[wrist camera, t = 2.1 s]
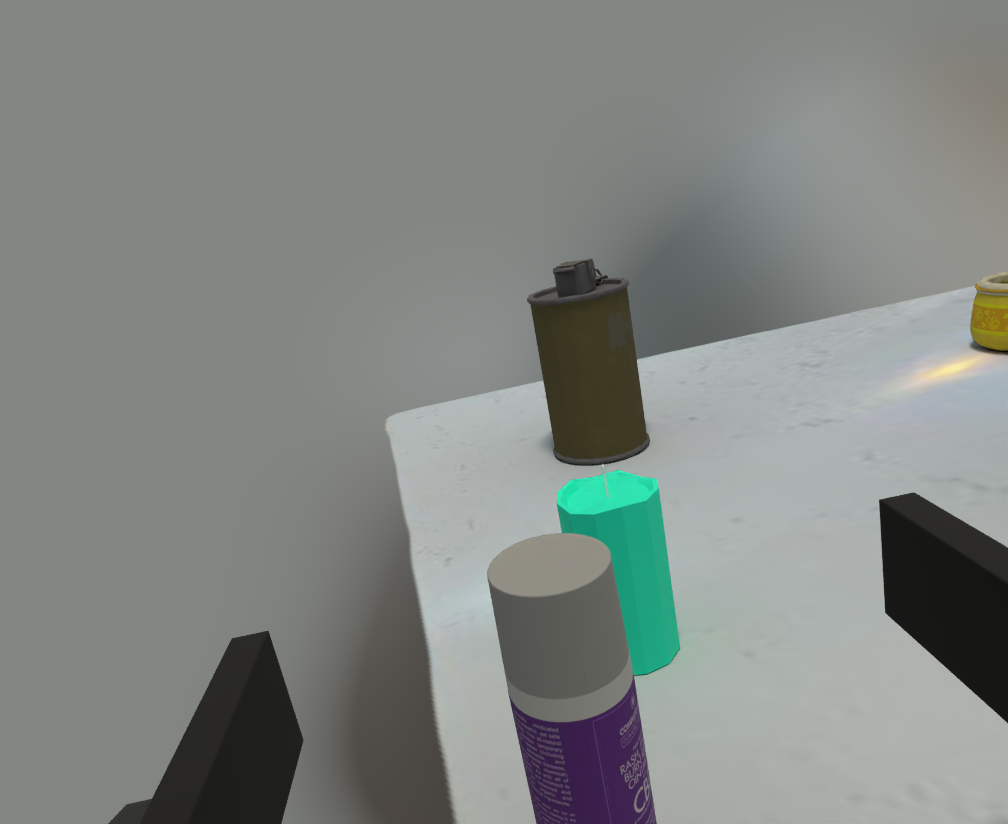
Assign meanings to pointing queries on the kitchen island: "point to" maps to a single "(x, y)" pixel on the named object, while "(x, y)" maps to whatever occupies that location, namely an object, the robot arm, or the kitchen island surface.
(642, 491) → the candle
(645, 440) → the canister
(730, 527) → the kitchen island surface
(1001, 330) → the mug
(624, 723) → the container
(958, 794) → the kitchen island surface
